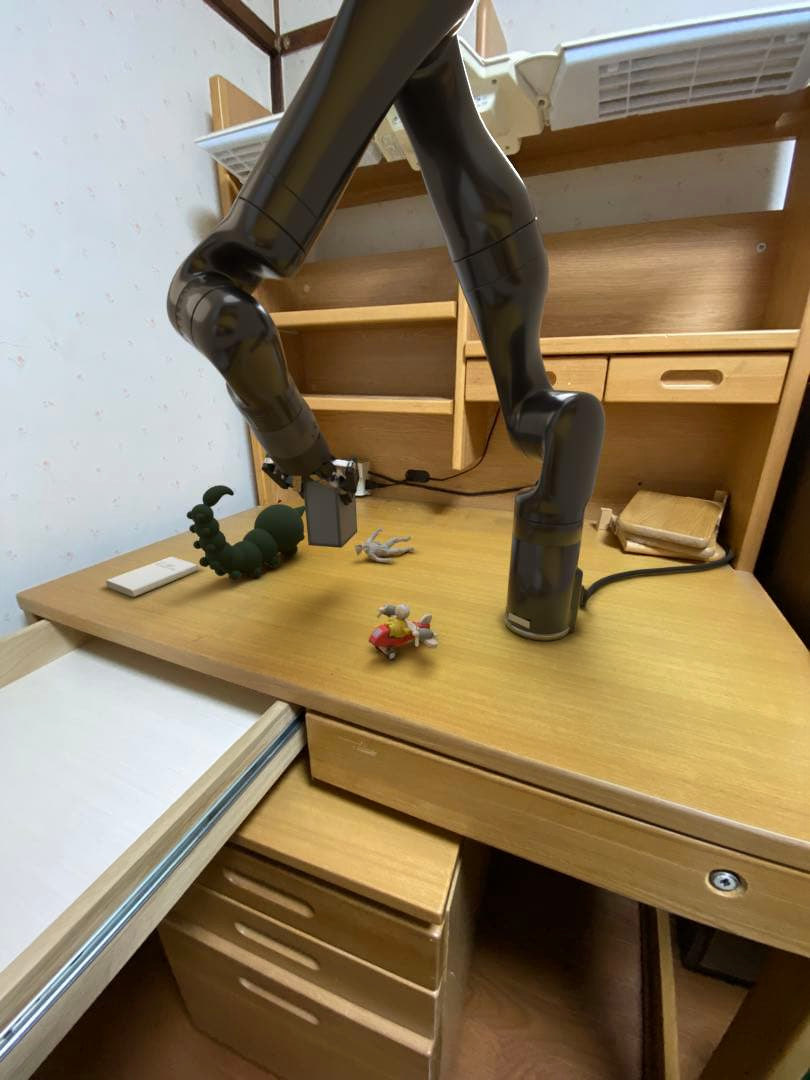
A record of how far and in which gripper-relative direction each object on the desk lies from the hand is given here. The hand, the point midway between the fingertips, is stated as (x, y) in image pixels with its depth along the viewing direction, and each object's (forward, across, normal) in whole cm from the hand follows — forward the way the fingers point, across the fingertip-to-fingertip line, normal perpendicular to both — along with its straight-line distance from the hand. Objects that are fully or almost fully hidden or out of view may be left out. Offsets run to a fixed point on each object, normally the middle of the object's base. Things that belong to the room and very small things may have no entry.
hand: (329, 499), depth 72 cm
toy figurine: (+17, -18, -7) cm, 26 cm away
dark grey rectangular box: (+4, 0, +2) cm, 5 cm away
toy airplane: (+3, +15, -21) cm, 26 cm away
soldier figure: (+24, +4, 0) cm, 25 cm away
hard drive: (+11, -35, -13) cm, 39 cm away
